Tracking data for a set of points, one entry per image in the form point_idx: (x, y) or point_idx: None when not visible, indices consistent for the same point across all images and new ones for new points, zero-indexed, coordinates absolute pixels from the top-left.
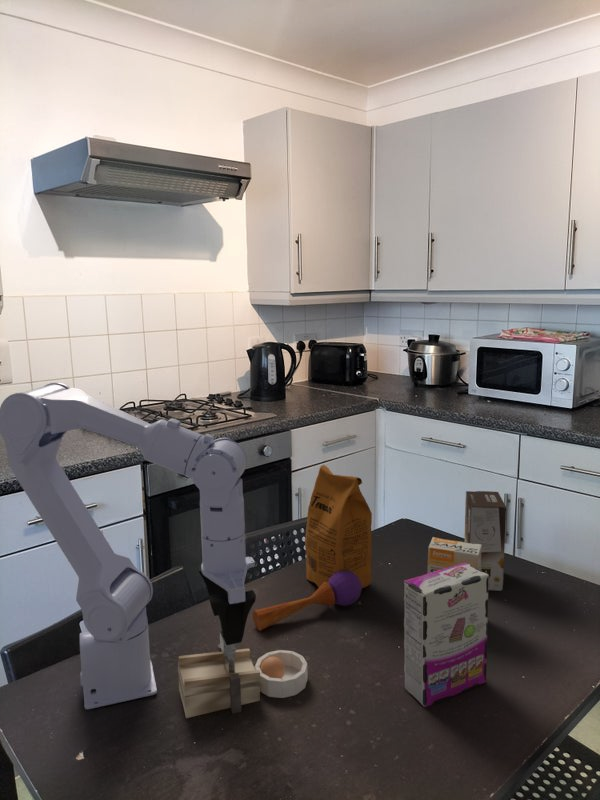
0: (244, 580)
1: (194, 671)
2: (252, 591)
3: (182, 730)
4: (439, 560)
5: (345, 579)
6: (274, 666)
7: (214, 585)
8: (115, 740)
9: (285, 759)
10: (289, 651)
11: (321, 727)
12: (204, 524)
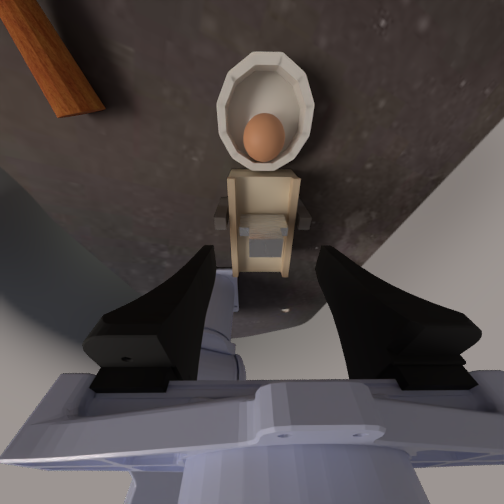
0: (483, 425)
1: (255, 257)
2: (434, 330)
3: (295, 254)
4: None
5: None
6: (279, 141)
7: (198, 324)
8: (281, 294)
9: (401, 170)
10: (226, 81)
11: (394, 91)
12: None
